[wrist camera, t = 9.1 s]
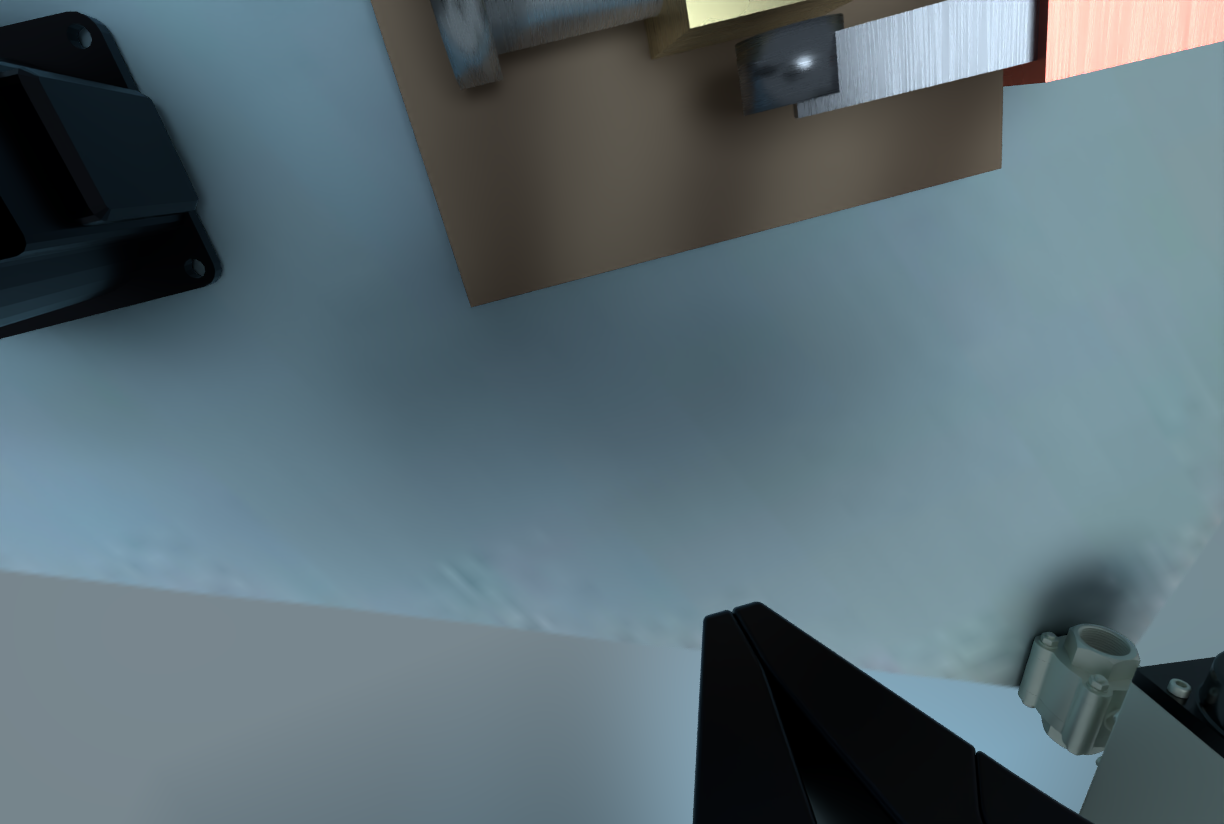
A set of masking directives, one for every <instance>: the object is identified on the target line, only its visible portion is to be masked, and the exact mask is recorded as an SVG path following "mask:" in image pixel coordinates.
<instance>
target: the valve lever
mask: <svg viewBox="0 0 1224 824" xmlns="http://www.w3.org/2000/svg"><path fill="white" fill-rule="evenodd" d="M1220 41H1224V0H947V1H943V2H939V3H936V4H932V5H929V6H925V7H921V8H918V9H914V10H911V11H907V12H903V13H900V14H896V15H893V16H889V17H885V18H882V19H878V20H874V21H871V22H867V23H864V24H860V25H856V26H853V27H849V28H846V29H844V17H843V14H842V13H839V14H831V15H826V16H821V17H816V18H812V19H808V20H804V21H800V22H797V23H793V24H790V25H786V26H783V27H780V28H776V29H773V30H770V31H767V32H764V33H761V34H758V35H755V36H753V37H750V38H748V39H745V40H743V41H741V42H739V43H737V44H736V45H735V52H736V59H737V67H738V74H739V82H740V90H741V97H742V105H743V113H744V116H746V115H751V114H755V113H759V112H763V111H767V110H771V109H775V108H779V107H783V106H787V105H791V104H793V109H794V118H802V117H806V116H811V115H815V114H819V113H823V112H827V111H831V110H835V109H839V108H843V107H847V106H852V105H856V104H860V103H864V102H868V101H872V100H876V99H880V98H884V97H888V96H893V95H897V94H901V93H905V92H909V91H913V90H917V89H921V88H925V87H930V86H934V85H938V84H942V83H946V82H950V81H954V80H958V79H962V78H966V77H971V76H975V75H979V74H983V73H987V72H991V71H995V70H999V69H1003V86H1013V85H1024V84H1034V83H1045V82H1049V81H1054V80H1058V79H1062V78H1066V77H1071V76H1075V75H1079V74H1083V73H1088V72H1092V71H1096V70H1100V69H1105V68H1109V67H1113V66H1118V65H1122V64H1126V63H1130V62H1135V61H1139V60H1143V59H1147V58H1152V57H1156V56H1160V55H1165V54H1169V53H1173V52H1177V51H1182V50H1186V49H1190V48H1194V47H1199V46H1203V45H1207V44H1211V43H1216V42H1220Z"/></svg>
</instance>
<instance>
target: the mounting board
mask: <svg viewBox="0 0 1224 824" xmlns="http://www.w3.org/2000/svg"><path fill="white" fill-rule="evenodd" d="M943 1H947V0H853V1H851V2H849V3H847V4H845V5H843V6H841V7H839V8H837V9H835V10H833V11H831V12H829V13H827V14H825V15H823V16H826V15H831V14H839V13H842V14H843V17H844V29H846V28H849V27H853V26H856V25H860V24H864V23H867V22H871V21H874V20H878V19H882V18H885V17H889V16H893V15H896V14H900V13H903V12H907V11H911V10H914V9H918V8H921V7H925V6H929V5H932V4H936V3H939V2H943ZM371 3H372V6H373V9H374V12H375V15H376V19H377V22H378V25H379V28H380V31H381V34H382V37H383V40H384V43H385V46H386V49H387V52H388V55H389V58H390V61H391V64H392V67H393V70H394V73H395V77H396V80H397V83H398V86H399V89H400V92H401V95H402V98H403V101H404V104H405V107H406V110H407V113H408V116H409V119H410V122H411V125H412V128H413V131H414V134H415V138H416V141H417V144H418V147H419V150H420V153H421V156H422V159H423V162H424V165H425V168H426V171H427V174H428V177H429V180H430V183H431V186H432V189H433V192H434V195H435V199H436V202H437V205H438V208H439V211H440V214H441V217H442V220H443V223H444V226H445V229H446V232H447V235H448V238H449V241H450V244H451V247H452V250H453V253H454V256H455V260H456V263H457V266H458V269H459V272H460V275H461V278H462V281H463V284H464V287H465V290H466V293H467V296H468V299H469V302H470V305H471V307H474V306H478V305H482V304H486V303H490V302H493V301H497V300H501V299H505V298H509V297H512V296H516V295H520V294H524V293H528V292H532V291H535V290H539V289H543V288H547V287H551V286H554V285H558V284H562V283H566V282H570V281H573V280H577V279H581V278H585V277H589V276H592V275H596V274H600V273H604V272H608V271H612V270H615V269H619V268H623V267H627V266H631V265H634V264H638V263H642V262H646V261H650V260H653V259H657V258H661V257H665V256H669V255H672V254H676V253H680V252H684V251H688V250H692V249H695V248H699V247H703V246H707V245H711V244H714V243H718V242H722V241H726V240H730V239H733V238H737V237H741V236H745V235H749V234H753V233H756V232H760V231H764V230H768V229H772V228H775V227H779V226H783V225H787V224H791V223H794V222H798V221H802V220H806V219H810V218H813V217H817V216H821V215H825V214H829V213H833V212H836V211H840V210H844V209H848V208H852V207H855V206H859V205H863V204H867V203H871V202H874V201H878V200H882V199H886V198H890V197H894V196H897V195H901V194H905V193H909V192H913V191H916V190H920V189H924V188H928V187H932V186H935V185H939V184H943V183H947V182H951V181H954V180H958V179H962V178H966V177H970V176H974V175H977V174H981V173H985V172H989V171H993V170H996V169H1000V168H1001V165H1002V115H1003V69H999V70H995V71H991V72H987V73H983V74H979V75H975V76H971V77H966V78H962V79H958V80H954V81H950V82H946V83H942V84H938V85H934V86H930V87H925V88H921V89H917V90H913V91H909V92H905V93H901V94H897V95H893V96H888V97H884V98H880V99H876V100H872V101H868V102H864V103H860V104H856V105H852V106H847V107H843V108H839V109H835V110H831V111H827V112H823V113H819V114H815V115H811V116H806V117H802V118H794V109H793V104H791V105H787V106H783V107H779V108H775V109H771V110H767V111H763V112H759V113H755V114H751V115H746V116H744V113H743V105H742V97H741V90H740V82H739V74H738V67H737V59H736V52H735V45H736V44H737V43H739V42H741V41H743V40H745V39H748V38H750V37H753V36H755V35H758V34H755V35H751V36H747V37H743V38H739V39H735V40H731V41H727V42H723V43H719V44H715V45H711V46H706V47H702V48H698V49H694V50H690V51H686V52H682V53H678V54H674V55H670V56H666V57H662V58H658V59H654V60H651V57H650V51H649V45H648V40H647V34H646V29H645V23H644V20H640V21H636V22H631V23H627V24H623V25H619V26H615V27H611V28H607V29H603V30H598V31H594V32H590V33H586V34H582V35H578V36H574V37H570V38H566V39H561V40H557V41H553V42H549V43H545V44H541V45H537V46H533V47H528V48H524V49H520V50H516V51H512V52H508V53H504V54H500V55H498V58H499V62H500V66H501V71H502V75H503V80H499V81H495V82H491V83H487V84H483V85H479V86H475V87H471V88H467V89H463V90H461V89H460V87H459V85H458V83H457V80H456V78H455V75H454V72H453V69H452V67H451V64H450V61H449V58H448V55H447V52H446V49H445V46H444V43H443V40H442V37H441V34H440V31H439V28H438V25H437V21H436V18H435V15H434V12H433V9H432V6H431V2H430V0H371ZM763 33H764V32H763ZM759 34H761V33H759Z"/></svg>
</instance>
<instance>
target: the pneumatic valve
mask: <svg viewBox="0 0 1224 824" xmlns="http://www.w3.org/2000/svg"><path fill="white" fill-rule="evenodd" d="M1139 663H1140V658H1139V654H1138V651H1137V649H1136V647H1135V645H1134V644H1133V643H1132V642H1131V641H1130V640H1129V639H1127V638H1126V637H1125V636H1123V635H1122V634H1120V633H1118V632H1116V631H1114V630H1112V629H1109V628H1107V627H1104V626H1100V625H1096V624H1079V625H1076V626H1073V627H1071V628H1069V631H1068V634H1067V635H1064V636H1060V637H1057V636H1056V635H1055V634H1054V633H1052V632H1044V633H1042V635H1040V636H1036V637H1035V639H1034V643H1033V646H1032V649H1031V652H1030V656H1029V659H1028V662H1027V665H1026V668H1025V672H1024V675H1023V678H1022V681H1021V685H1020V688H1019V691H1018V695H1019V697H1020V698H1021V699H1022V702H1023V704H1025V705H1026V706H1028V707H1030V708H1036V709H1037V711H1038V712H1039V713H1040V715H1041V717H1042V723H1043V727H1044V730H1045V732H1046V733H1047V735H1048V736H1050V738H1051V739H1053V740H1054V741H1055V742H1056V743H1058V744H1059V745H1060V746H1062V747H1064V748H1066V749H1067V750H1068V751H1069V752H1071V753H1073V754H1075V755H1092V754H1096V753H1099V752H1102V751H1104V752H1103V754H1102V756H1101V757H1099V758H1098V759H1097V760H1096V765H1097V766H1098V767H1097V770H1096V772H1095V775H1094V777H1093V780H1092V782H1091V785H1090V787H1089V790H1088V792H1087V795H1086V798H1085V800H1084V803H1083V805H1082V808H1081V810H1080V813H1079V815H1081V816H1082V817H1084V818H1086V819H1088V820H1089V821H1091V822H1093V823H1094V824H1224V651H1223V652H1221V653H1220V654H1218V655H1217V656H1216V657H1212V658H1204V659H1197V660H1190V661H1182V662H1174V663H1167V664H1159V665H1152V666H1145V667H1141V666H1140V665H1139Z"/></svg>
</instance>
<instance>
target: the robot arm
mask: <svg viewBox="0 0 1224 824" xmlns="http://www.w3.org/2000/svg"><path fill="white" fill-rule="evenodd" d="M84 27H86V29H87V30H88V31H89V32H90V34H91V38H92V42H91V45H90V46H89V47H88V48H86V49H85V48H83V46H82V45H81V44H80V42H79V39H78V33H79V30H81V29H82V28H84ZM197 202H198V197H197V195H196V193H195V191H194V188H193V186H192V184H191V182H190V180H189V178H188V176H187V174H186V172H185V169H184V167H183V165H182V163H181V161H180V159H179V157H178V155H177V153H176V150H175V148H174V146H173V144H172V142H171V140H170V138H169V136H168V134H167V131H166V129H165V127H164V125H163V123H162V121H161V119H160V117H159V115H158V112H157V110H156V108H155V106H154V104H153V102H152V100H151V99H150V98H148V97H146V96H145V95H143V94H141V93H139V92H138V90H137V88H136V86H135V83H134V81H133V79H132V77H131V75H130V73H129V71H128V69H127V67H126V65H125V63H124V60H123V58H122V56H121V54H120V52H119V50H118V48H117V46H116V44H115V42H114V40H113V38H112V35H111V34H110V32H109V31H108V29H107V28H106V26H105V25H103V24H102V23H101V22H100V21H98V20H97V19H95V18H92V17H90V16H87V15H84V14H81V13H79V12H63V13H59V14H55V15H50V16H46V17H42V18H37V19H33V20H29V21H25V22H20V23H16V24H12V25H7V26H3V27H0V339H1V338H5V337H9V336H13V335H17V334H21V333H25V332H29V331H33V330H36V329H40V328H44V327H48V326H52V325H56V324H60V323H64V322H68V321H72V320H76V319H80V318H83V317H87V316H91V315H95V314H99V313H103V312H107V311H111V310H115V309H119V308H123V307H127V306H130V305H134V304H138V303H142V302H146V301H150V300H154V299H158V298H162V297H166V296H170V295H174V294H177V293H181V292H185V291H189V290H193V289H197V288H201V287H205V286H207V285H210V284H212V283H214V282H216V281H217V280H218V279H219V278H220V276H221V271H222V268H221V264H220V261H219V259H218V257H217V255H216V252H215V250H214V248H213V246H212V244H211V242H210V240H209V238H208V236H207V234H206V232H205V230H204V227H203V225H202V223H201V221H200V219H199V217H198V215H197V213H196V211H195V208H196V205H197ZM193 259H196V260H198V261H200V262H201V263H202V264H203V265H204V266H205V274H204V276H201V275H199V274H197V273H195V271H194V270H193V269H192V265H191V263H192V261H193ZM693 824H1094V823H1093V822H1091V821H1089V820H1088V819H1086V818H1084V817H1082V816H1081V815H1079V814H1077V813H1076V812H1074V811H1072V810H1071V809H1069V808H1067V807H1066V806H1064V805H1062V804H1061V803H1059V802H1058V801H1056V800H1054V799H1052V798H1051V797H1050V796H1048V795H1047V794H1045V793H1043V792H1042V791H1040V790H1039V789H1037V788H1036V787H1034V786H1033V785H1031V784H1030V783H1028V782H1027V781H1025V780H1023V779H1022V778H1020V777H1019V776H1017V775H1016V774H1014V773H1013V772H1011V771H1010V770H1008V769H1007V768H1005V767H1004V766H1002V765H1001V764H999V763H998V762H996V761H995V760H993V759H992V758H990V757H989V756H987V755H986V754H985V753H983V752H981V751H978V752H977V753H976V752H975V748H974V747H973V746H972V745H971V744H969V743H968V742H966V741H965V740H963V739H962V738H961V737H959V736H957V735H956V734H954V733H953V732H951V731H950V730H949V729H947V728H946V727H944V726H943V725H941V724H940V723H938V722H937V721H935V720H934V719H932V718H931V717H930V716H928V715H926V714H925V713H924V712H922V711H921V710H919V709H917V708H916V707H915V706H913V705H912V704H910V703H909V702H907V701H906V700H904V699H903V698H901V697H900V696H898V695H897V694H895V693H894V692H893V691H891V690H890V689H888V688H887V687H885V686H883V685H882V684H881V683H879V682H877V681H876V680H875V679H873V678H872V677H870V676H869V675H867V674H866V673H865V672H863V671H862V670H860V669H859V668H857V667H856V666H854V665H853V664H851V663H850V662H848V661H847V660H845V659H844V658H842V657H841V656H839V655H838V654H836V653H835V652H834V651H832V650H831V649H829V648H828V647H826V646H825V645H823V644H822V643H820V642H819V641H817V640H816V639H814V638H813V637H811V636H810V635H808V634H807V633H805V632H804V631H802V630H801V629H800V628H798V627H797V626H795V625H794V624H792V623H791V622H789V621H788V620H786V619H785V618H783V617H782V616H780V615H779V614H777V613H776V612H774V611H773V610H771V609H770V608H769V607H767V606H766V605H764V604H763V603H761V602H752V603H749V604H745V605H742V606H739V607H736V608H734V609H733V611H732V612H731V611H729V610H725V611H721V612H718V613H714V614H711V615H708V616H706V617H705V618H704V620H703V635H702V654H701V675H700V694H699V712H698V731H697V750H696V770H695V789H694V808H693Z"/></svg>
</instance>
